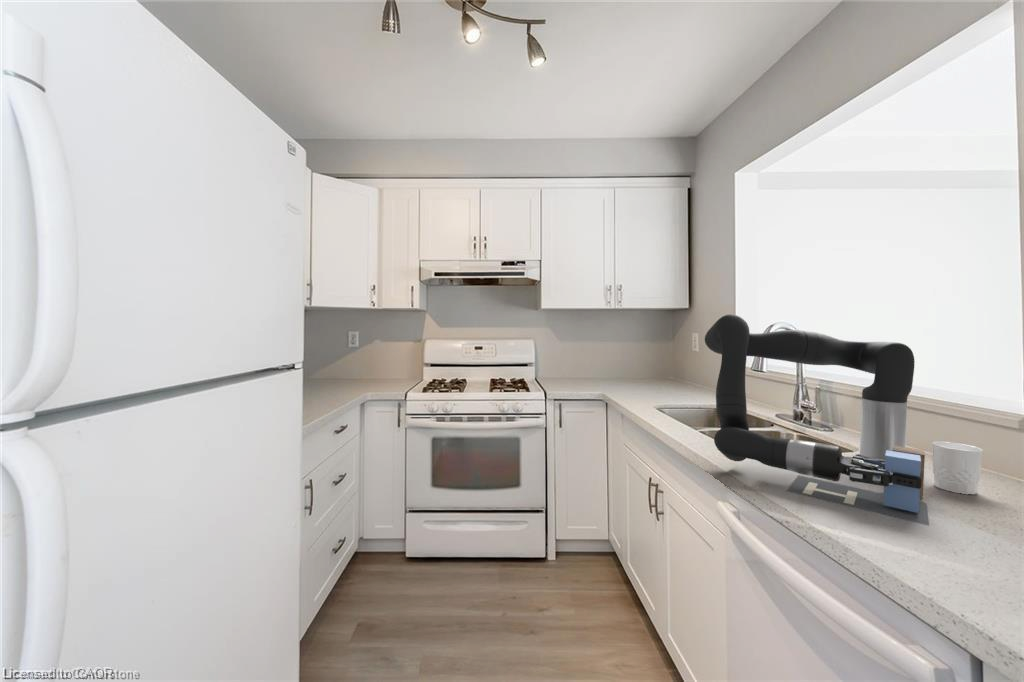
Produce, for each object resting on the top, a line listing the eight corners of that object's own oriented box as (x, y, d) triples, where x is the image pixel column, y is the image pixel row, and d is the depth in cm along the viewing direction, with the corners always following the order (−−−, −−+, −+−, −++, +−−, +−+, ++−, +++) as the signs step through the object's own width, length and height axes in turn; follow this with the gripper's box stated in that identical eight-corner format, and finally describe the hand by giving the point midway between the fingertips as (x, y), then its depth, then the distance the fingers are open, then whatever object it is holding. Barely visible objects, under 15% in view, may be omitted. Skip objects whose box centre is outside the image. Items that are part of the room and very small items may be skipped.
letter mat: (798, 477, 100) (798, 475, 100) (926, 505, 84) (926, 502, 84) (786, 493, 90) (786, 490, 90) (929, 528, 74) (929, 525, 74)
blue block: (884, 497, 85) (886, 450, 84) (918, 505, 81) (920, 455, 81) (883, 505, 81) (885, 455, 81) (918, 513, 78) (921, 461, 77)
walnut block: (891, 488, 93) (892, 445, 93) (921, 495, 90) (924, 450, 90) (890, 494, 90) (892, 449, 90) (922, 501, 86) (924, 455, 86)
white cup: (939, 491, 92) (941, 447, 92) (924, 480, 99) (926, 439, 99) (989, 498, 88) (991, 453, 88) (969, 486, 95) (971, 444, 95)
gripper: (808, 449, 86) (923, 469, 74) (818, 436, 96) (921, 452, 84) (807, 484, 86) (921, 509, 74) (817, 468, 96) (919, 488, 84)
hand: (920, 479), depth 79 cm, fingers closed on blue block, 5 cm apart
